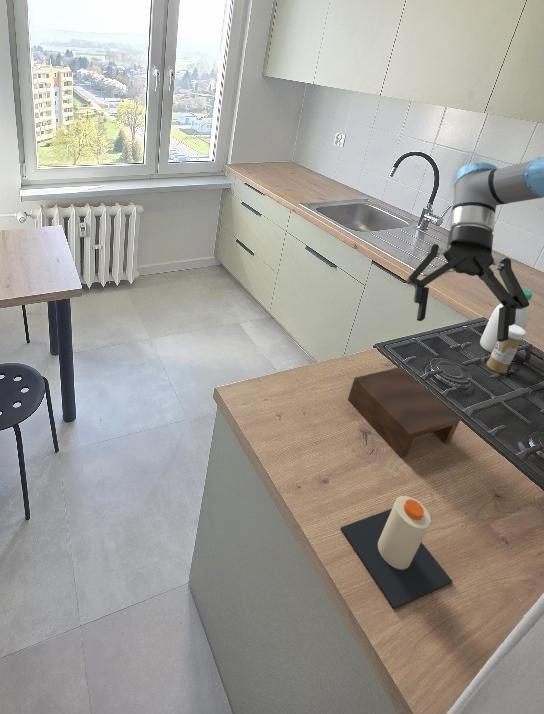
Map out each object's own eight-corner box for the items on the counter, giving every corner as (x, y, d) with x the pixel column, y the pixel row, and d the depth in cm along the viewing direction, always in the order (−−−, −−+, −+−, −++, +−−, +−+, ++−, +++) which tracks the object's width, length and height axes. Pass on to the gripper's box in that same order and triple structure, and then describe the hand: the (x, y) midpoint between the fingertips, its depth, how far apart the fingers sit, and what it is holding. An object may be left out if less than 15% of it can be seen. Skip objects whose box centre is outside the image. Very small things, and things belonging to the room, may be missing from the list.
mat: (451, 583, 67) (452, 581, 67) (393, 609, 64) (394, 608, 63) (393, 509, 78) (394, 507, 77) (340, 528, 74) (340, 527, 74)
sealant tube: (417, 563, 69) (440, 518, 64) (393, 574, 68) (415, 528, 63) (393, 532, 73) (413, 488, 68) (371, 541, 72) (389, 496, 67)
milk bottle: (508, 361, 116) (538, 302, 108) (476, 347, 121) (501, 289, 113) (514, 349, 121) (542, 291, 113) (482, 336, 126) (507, 279, 118)
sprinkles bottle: (482, 361, 116) (500, 321, 111) (500, 363, 116) (519, 324, 110) (492, 373, 112) (511, 332, 106) (510, 375, 111) (530, 335, 106)
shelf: (450, 441, 92) (460, 418, 89) (400, 457, 87) (410, 434, 85) (392, 387, 105) (400, 366, 103) (347, 399, 101) (354, 377, 98)
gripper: (534, 251, 87) (529, 352, 80) (400, 226, 96) (385, 315, 89) (555, 238, 80) (550, 346, 73) (408, 212, 89) (393, 307, 83)
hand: (460, 329), depth 81 cm, fingers open, 13 cm apart
